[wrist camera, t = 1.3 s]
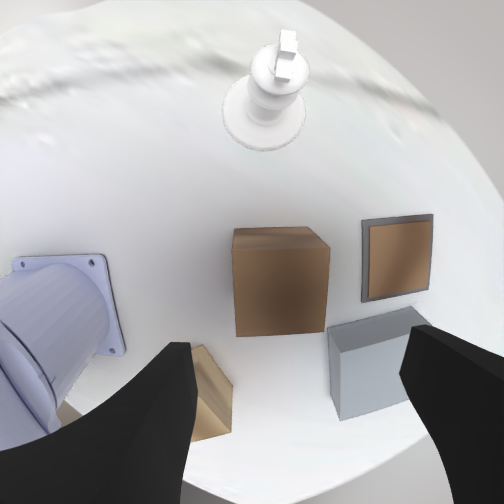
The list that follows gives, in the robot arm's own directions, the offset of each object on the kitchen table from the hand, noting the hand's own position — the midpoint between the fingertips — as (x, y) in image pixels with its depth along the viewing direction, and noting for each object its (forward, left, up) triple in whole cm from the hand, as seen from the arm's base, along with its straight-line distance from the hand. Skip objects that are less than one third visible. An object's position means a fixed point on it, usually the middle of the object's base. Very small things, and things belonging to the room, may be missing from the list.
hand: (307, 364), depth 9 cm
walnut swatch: (+9, 0, -10) cm, 14 cm away
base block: (+8, -8, -11) cm, 16 cm away
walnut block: (0, 0, -11) cm, 11 cm away
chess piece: (-1, +9, -11) cm, 14 cm away
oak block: (-6, -9, -11) cm, 15 cm away
